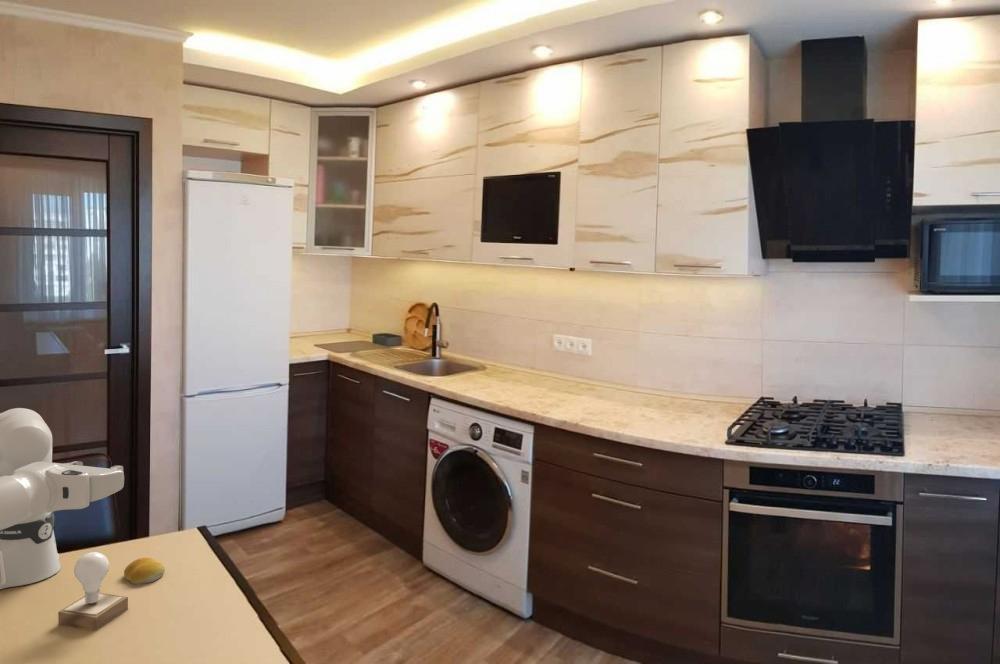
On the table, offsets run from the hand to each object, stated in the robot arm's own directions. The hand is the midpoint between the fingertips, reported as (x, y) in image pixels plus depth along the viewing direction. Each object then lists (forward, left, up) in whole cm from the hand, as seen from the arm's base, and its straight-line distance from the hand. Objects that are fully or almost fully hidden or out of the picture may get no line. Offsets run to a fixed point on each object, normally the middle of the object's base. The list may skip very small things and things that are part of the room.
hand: (100, 467), depth 141 cm
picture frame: (-3, +1, -33) cm, 34 cm away
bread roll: (-6, +21, -34) cm, 40 cm away
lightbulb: (-4, +1, -30) cm, 31 cm away
